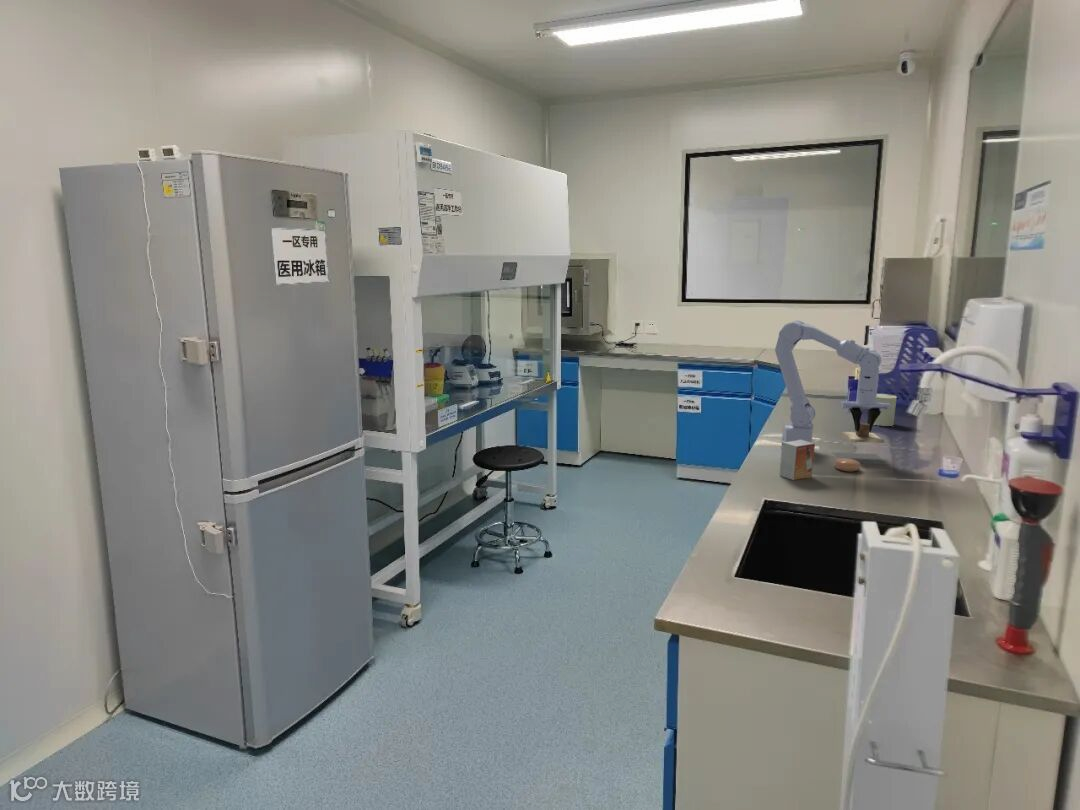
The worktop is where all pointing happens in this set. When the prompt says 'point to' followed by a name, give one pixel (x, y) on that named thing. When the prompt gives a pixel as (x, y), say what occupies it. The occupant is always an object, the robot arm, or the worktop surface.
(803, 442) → the small box
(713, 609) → the worktop surface
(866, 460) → the mat
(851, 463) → the pink rounded disc
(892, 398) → the can
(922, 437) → the worktop surface
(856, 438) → the lid
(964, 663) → the worktop surface
